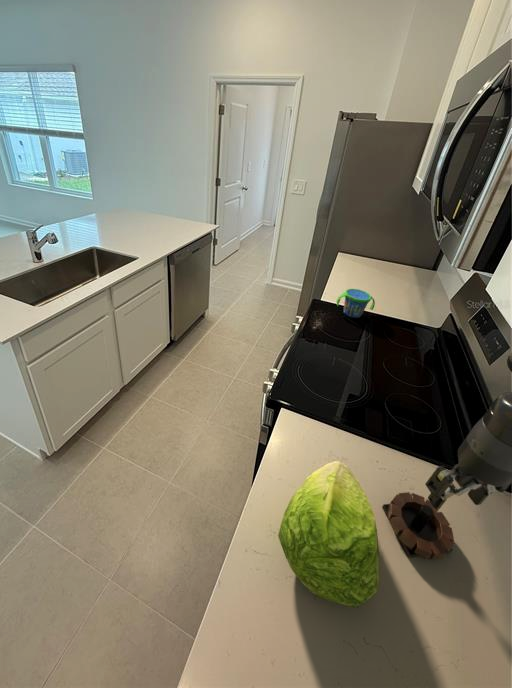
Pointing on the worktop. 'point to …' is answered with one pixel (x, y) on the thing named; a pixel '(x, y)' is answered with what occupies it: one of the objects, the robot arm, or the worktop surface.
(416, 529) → the stand
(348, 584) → the lettuce
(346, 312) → the snack cup
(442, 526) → the ring
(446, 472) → the robot arm
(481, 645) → the worktop surface
